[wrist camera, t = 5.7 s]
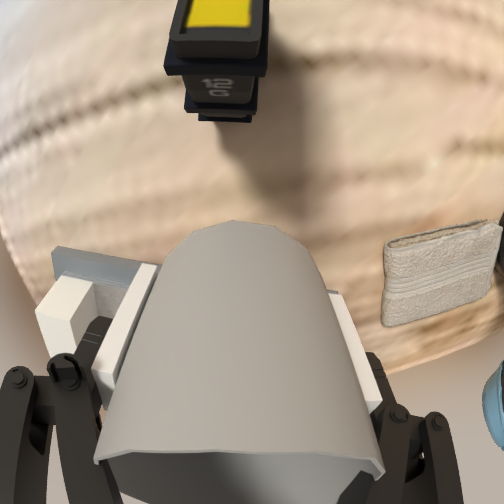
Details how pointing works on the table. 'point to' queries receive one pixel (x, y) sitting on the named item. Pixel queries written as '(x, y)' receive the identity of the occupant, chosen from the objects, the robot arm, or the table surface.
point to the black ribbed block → (219, 56)
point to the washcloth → (438, 269)
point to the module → (66, 314)
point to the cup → (238, 381)
